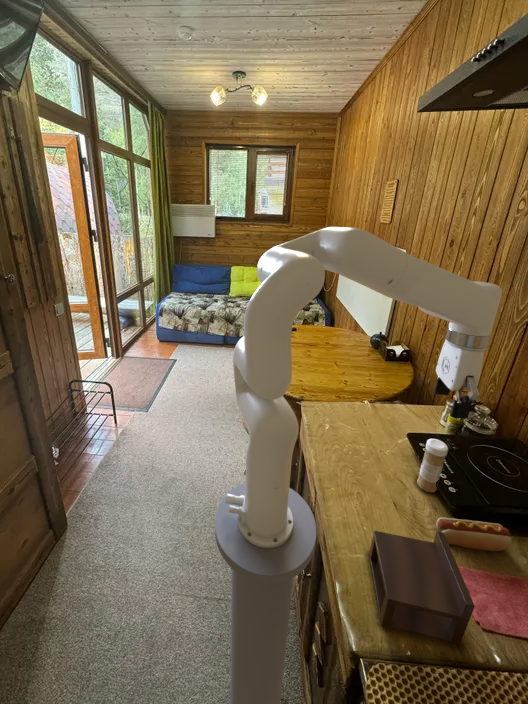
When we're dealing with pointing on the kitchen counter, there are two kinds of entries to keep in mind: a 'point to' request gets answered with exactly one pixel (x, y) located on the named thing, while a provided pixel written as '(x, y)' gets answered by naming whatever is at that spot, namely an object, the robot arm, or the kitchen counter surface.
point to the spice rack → (420, 587)
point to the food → (474, 534)
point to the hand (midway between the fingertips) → (449, 405)
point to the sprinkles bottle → (432, 464)
